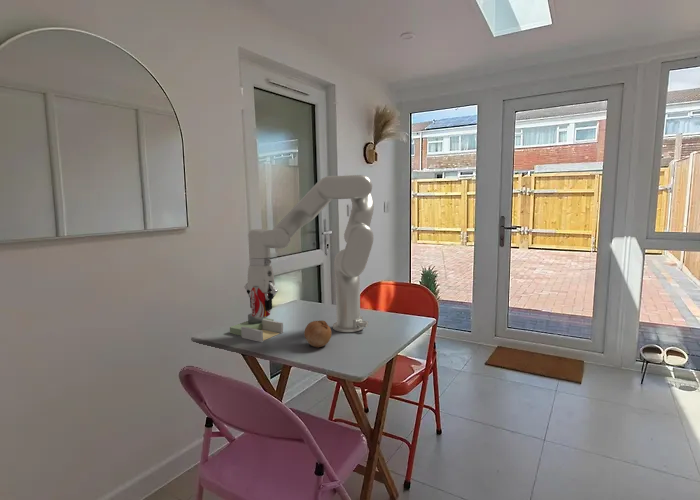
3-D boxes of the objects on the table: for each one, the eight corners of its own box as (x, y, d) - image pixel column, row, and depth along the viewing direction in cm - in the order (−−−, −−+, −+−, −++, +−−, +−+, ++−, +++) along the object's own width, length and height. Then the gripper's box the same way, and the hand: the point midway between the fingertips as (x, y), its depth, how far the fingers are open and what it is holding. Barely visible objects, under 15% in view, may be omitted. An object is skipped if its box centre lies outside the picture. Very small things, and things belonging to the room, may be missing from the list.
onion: (329, 352, 138) (341, 328, 137) (311, 353, 131) (324, 328, 130) (312, 337, 144) (324, 314, 143) (294, 338, 137) (306, 313, 135)
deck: (292, 328, 156) (291, 315, 156) (261, 342, 141) (260, 327, 141) (259, 322, 166) (259, 309, 165) (227, 334, 151) (226, 320, 150)
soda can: (266, 319, 144) (265, 287, 143) (248, 318, 146) (247, 287, 144) (273, 314, 151) (272, 284, 150) (256, 313, 152) (255, 283, 151)
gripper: (284, 262, 145) (285, 309, 147) (250, 259, 154) (251, 303, 156) (270, 265, 138) (271, 314, 140) (235, 261, 147) (237, 307, 149)
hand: (261, 308), depth 148 cm, fingers closed on soda can, 6 cm apart
